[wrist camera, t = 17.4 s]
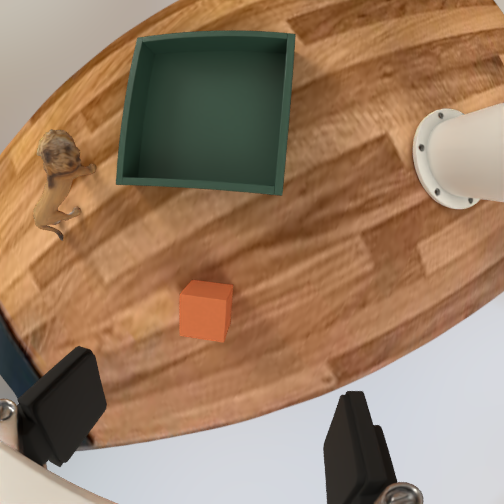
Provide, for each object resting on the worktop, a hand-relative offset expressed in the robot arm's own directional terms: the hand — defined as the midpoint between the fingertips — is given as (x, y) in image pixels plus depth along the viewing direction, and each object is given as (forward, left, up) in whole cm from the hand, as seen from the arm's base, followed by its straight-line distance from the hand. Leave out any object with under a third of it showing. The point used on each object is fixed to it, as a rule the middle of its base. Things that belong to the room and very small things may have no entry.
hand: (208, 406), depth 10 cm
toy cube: (+5, +7, -25) cm, 26 cm away
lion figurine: (+25, -7, -25) cm, 36 cm away
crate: (+7, -16, -25) cm, 30 cm away
